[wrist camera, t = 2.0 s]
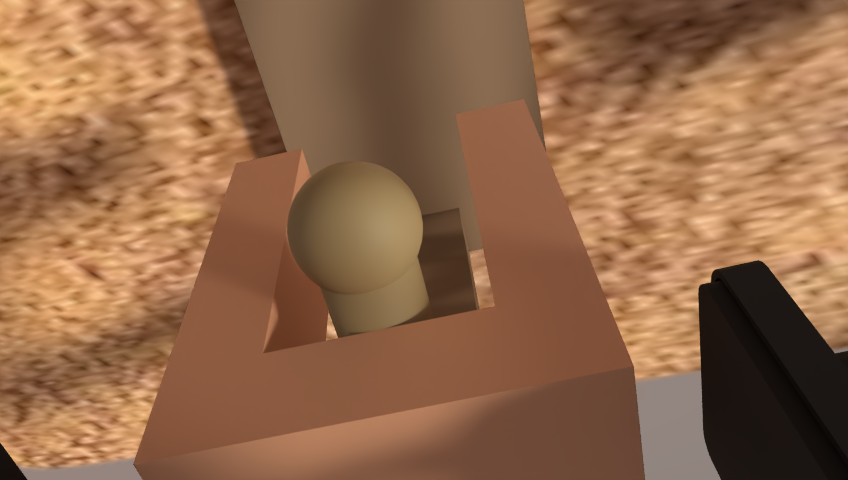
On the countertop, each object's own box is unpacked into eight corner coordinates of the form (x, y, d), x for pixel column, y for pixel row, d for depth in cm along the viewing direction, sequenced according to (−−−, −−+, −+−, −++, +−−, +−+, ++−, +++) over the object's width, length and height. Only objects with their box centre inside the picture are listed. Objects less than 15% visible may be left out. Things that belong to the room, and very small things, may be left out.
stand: (499, -120, 25) (829, 243, 7) (551, 212, 32) (787, 850, 13) (227, -53, 26) (-144, 442, 7) (333, 259, 32) (275, 926, 14)
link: (524, 99, 16) (633, 365, 9) (540, 201, 17) (647, 501, 10) (236, 163, 16) (133, 464, 9) (273, 258, 17) (206, 583, 11)
